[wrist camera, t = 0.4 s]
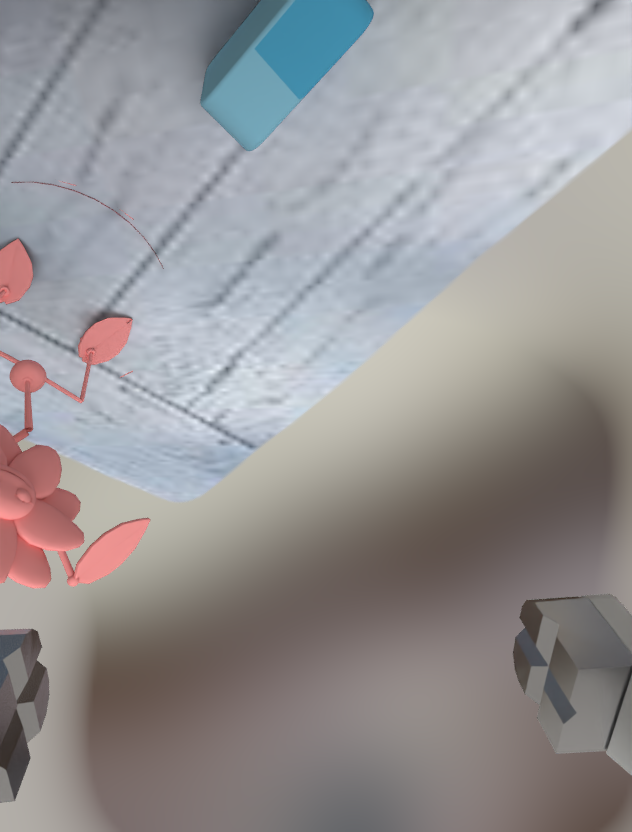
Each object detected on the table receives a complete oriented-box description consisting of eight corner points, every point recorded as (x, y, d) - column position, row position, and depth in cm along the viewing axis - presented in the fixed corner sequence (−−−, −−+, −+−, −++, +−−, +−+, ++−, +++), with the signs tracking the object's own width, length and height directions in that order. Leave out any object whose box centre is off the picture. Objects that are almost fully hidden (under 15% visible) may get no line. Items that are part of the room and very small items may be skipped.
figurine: (139, 388, 68) (85, 689, 42) (-85, 229, 54) (-384, 535, 27) (234, 309, 63) (241, 597, 37) (15, 109, 48) (-237, 346, 22)
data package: (246, 111, 50) (248, 159, 41) (204, 68, 48) (197, 109, 39) (351, -8, 45) (379, 16, 36) (311, -63, 43) (330, -51, 34)
